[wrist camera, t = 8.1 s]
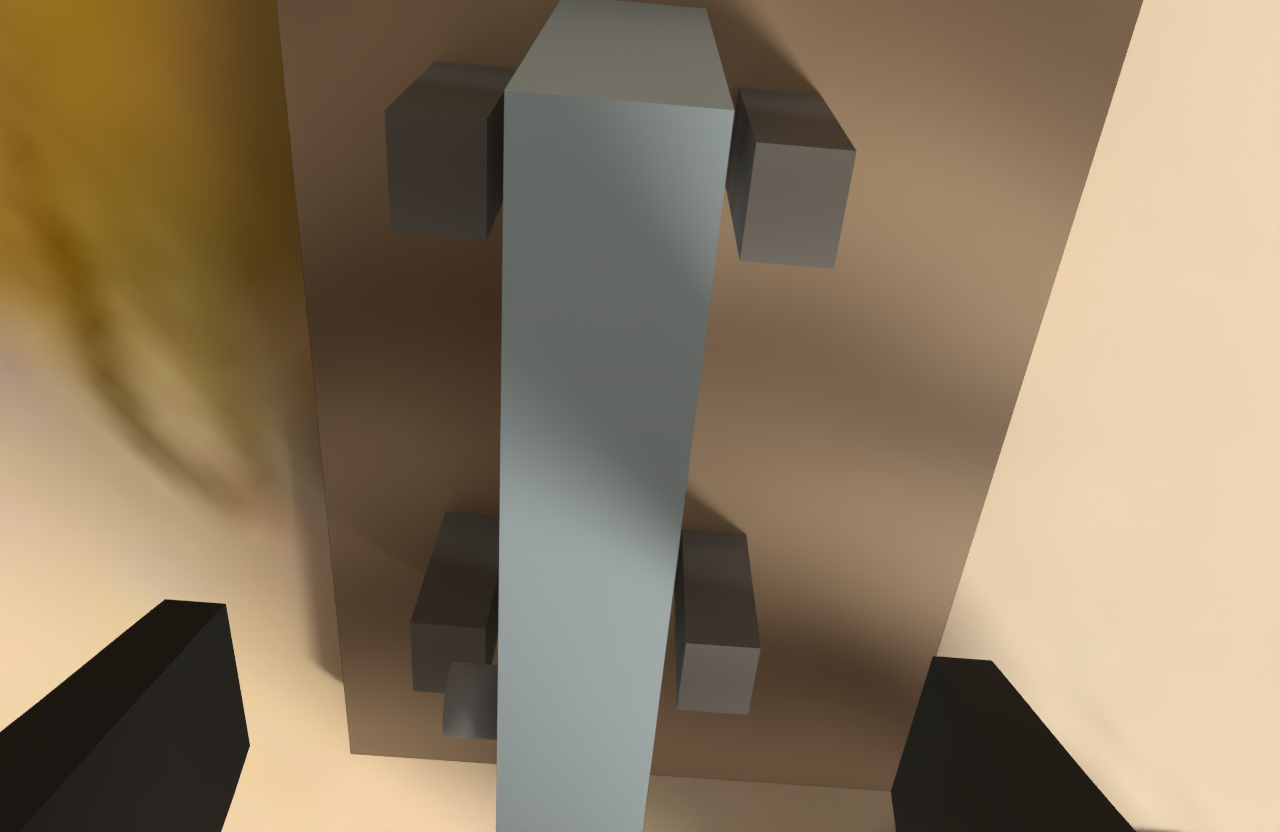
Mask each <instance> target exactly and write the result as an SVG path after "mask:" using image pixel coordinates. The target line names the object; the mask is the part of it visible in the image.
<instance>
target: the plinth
mask: <svg viewBox="0 0 1280 832" xmlns="http://www.w3.org/2000/svg"><path fill="white" fill-rule="evenodd" d="M559 1H560V0H276V3H277V13H278V23H279V33H280V43H281V53H282V63H283V74H284V84H285V94H286V104H287V114H288V124H289V134H290V145H291V155H292V165H293V175H294V185H295V195H296V205H297V216H298V226H299V236H300V246H301V256H302V266H303V276H304V286H305V297H306V307H307V317H308V327H309V337H310V347H311V357H312V368H313V378H314V388H315V398H316V408H317V418H318V428H319V438H320V449H321V459H322V469H323V479H324V489H325V499H326V509H327V520H328V530H329V540H330V550H331V560H332V570H333V580H334V590H335V601H336V611H337V621H338V631H339V641H340V651H341V661H342V672H343V682H344V692H345V702H346V712H347V722H348V732H349V742H350V753H351V754H360V755H374V756H389V757H403V758H418V759H432V760H447V761H461V762H475V763H490V764H497V740H482V739H468V738H454V737H444V735H443V706H444V697H445V690H446V684H447V679H448V674H449V670H450V667H451V665H452V663H453V662H461V663H475V664H489V665H498V616H499V527H500V437H501V347H502V257H503V168H504V90H505V88H506V87H507V85H508V84H509V82H510V80H511V79H512V77H513V75H514V74H515V72H516V71H517V69H518V67H519V66H520V64H521V63H522V61H523V59H524V58H525V56H526V55H527V53H528V51H529V50H530V48H531V47H532V45H533V43H534V42H535V40H536V38H537V37H538V35H539V34H540V32H541V30H542V29H543V27H544V26H545V24H546V22H547V21H548V19H549V18H550V16H551V14H552V13H553V11H554V9H555V8H556V6H557V5H558V3H559ZM617 1H628V2H639V3H650V4H661V5H673V6H684V7H695V8H706V10H707V13H708V17H709V21H710V24H711V28H712V31H713V35H714V38H715V42H716V46H717V49H718V53H719V56H720V60H721V64H722V67H723V71H724V74H725V78H726V82H727V85H728V89H729V92H730V96H731V100H732V103H733V107H734V118H733V126H732V134H731V142H730V149H729V157H728V165H727V173H726V181H725V189H724V197H723V204H722V212H721V220H720V228H719V236H718V244H717V251H716V259H715V267H714V275H713V283H712V291H711V298H710V306H709V314H708V322H707V330H706V338H705V346H704V353H703V361H702V369H701V377H700V385H699V393H698V400H697V408H696V416H695V424H694V432H693V440H692V448H691V455H690V463H689V471H688V479H687V487H686V495H685V502H684V510H683V518H682V526H681V534H680V542H679V549H678V557H677V565H676V573H675V581H674V589H673V597H672V604H671V612H670V620H669V628H668V636H667V644H666V651H665V659H664V667H663V675H662V683H661V691H660V698H659V706H658V714H657V722H656V730H655V738H654V746H653V753H652V761H651V769H650V775H664V776H678V777H693V778H707V779H722V780H736V781H751V782H765V783H780V784H794V785H808V786H823V787H837V788H852V789H866V790H881V791H891V788H892V785H893V782H894V779H895V776H896V772H897V769H898V766H899V763H900V760H901V756H902V753H903V750H904V747H905V744H906V740H907V737H908V734H909V731H910V728H911V724H912V721H913V718H914V715H915V712H916V708H917V705H918V702H919V699H920V696H921V692H922V689H923V686H924V683H925V680H926V676H927V673H928V670H929V667H930V664H931V660H932V657H933V656H936V654H937V651H938V648H939V645H940V641H941V638H942V635H943V632H944V629H945V626H946V622H947V619H948V616H949V613H950V610H951V607H952V603H953V600H954V597H955V594H956V591H957V588H958V584H959V581H960V578H961V575H962V572H963V569H964V565H965V562H966V559H967V556H968V553H969V550H970V546H971V543H972V540H973V537H974V534H975V531H976V527H977V524H978V521H979V518H980V515H981V512H982V509H983V505H984V502H985V499H986V496H987V493H988V490H989V486H990V483H991V480H992V477H993V474H994V471H995V467H996V464H997V461H998V458H999V455H1000V452H1001V448H1002V445H1003V442H1004V439H1005V436H1006V433H1007V429H1008V426H1009V423H1010V420H1011V417H1012V414H1013V410H1014V407H1015V404H1016V401H1017V398H1018V395H1019V391H1020V388H1021V385H1022V382H1023V379H1024V376H1025V373H1026V369H1027V366H1028V363H1029V360H1030V357H1031V354H1032V350H1033V347H1034V344H1035V341H1036V338H1037V335H1038V331H1039V328H1040V325H1041V322H1042V319H1043V316H1044V312H1045V309H1046V306H1047V303H1048V300H1049V297H1050V293H1051V290H1052V287H1053V284H1054V281H1055V278H1056V274H1057V271H1058V268H1059V265H1060V262H1061V259H1062V255H1063V252H1064V249H1065V246H1066V243H1067V240H1068V236H1069V233H1070V230H1071V227H1072V224H1073V221H1074V218H1075V214H1076V211H1077V208H1078V205H1079V202H1080V199H1081V195H1082V192H1083V189H1084V186H1085V183H1086V180H1087V176H1088V173H1089V170H1090V167H1091V164H1092V161H1093V157H1094V154H1095V151H1096V148H1097V145H1098V142H1099V138H1100V135H1101V132H1102V129H1103V126H1104V123H1105V119H1106V116H1107V113H1108V110H1109V107H1110V104H1111V100H1112V97H1113V94H1114V91H1115V88H1116V85H1117V81H1118V78H1119V75H1120V72H1121V69H1122V66H1123V63H1124V59H1125V56H1126V53H1127V50H1128V47H1129V44H1130V40H1131V37H1132V34H1133V31H1134V28H1135V25H1136V21H1137V18H1138V15H1139V12H1140V9H1141V6H1142V2H1143V0H617Z"/></svg>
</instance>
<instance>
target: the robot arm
mask: <svg viewBox="0 0 1280 832" xmlns="http://www.w3.org/2000/svg"><path fill="white" fill-rule="evenodd" d="M249 747H250V743H249V737H248V731H247V725H246V719H245V714H244V708H243V702H242V696H241V690H240V684H239V678H238V673H237V667H236V661H235V655H234V649H233V643H232V638H231V632H230V626H229V620H228V614H227V608H226V604H220V603H207V602H193V601H180V600H166V599H165V600H164V601H163V602H161V603H160V604H159V605H157V606H156V607H155V608H154V609H152V610H151V611H150V612H149V613H147V614H146V615H145V616H144V617H142V618H141V619H140V620H139V621H137V622H136V623H135V624H134V625H132V626H131V627H130V628H129V629H127V630H126V631H125V632H124V633H122V634H121V635H120V636H119V637H117V638H116V639H115V640H114V641H113V642H111V643H110V644H109V645H108V646H106V647H105V648H104V649H103V650H102V651H100V652H99V653H98V654H97V655H95V656H94V657H93V658H92V659H91V660H89V661H88V662H87V663H86V664H84V665H83V666H82V667H81V668H80V669H78V670H77V671H76V672H75V673H73V674H72V675H71V676H70V677H68V678H67V679H66V680H65V681H64V682H62V683H61V684H60V685H59V686H57V687H56V688H55V689H54V690H52V691H51V692H50V693H49V694H48V695H46V696H45V697H44V698H43V699H41V700H40V701H39V702H38V703H36V704H35V705H34V706H33V707H31V708H30V709H29V710H28V711H26V712H25V713H24V714H23V715H21V716H20V717H19V718H17V719H16V720H15V721H14V722H12V723H11V724H10V725H9V726H7V727H6V728H5V729H3V730H2V731H1V732H0V832H221V830H222V828H223V825H224V822H225V819H226V816H227V813H228V810H229V808H230V805H231V802H232V799H233V796H234V793H235V790H236V787H237V784H238V781H239V778H240V774H241V771H242V768H243V765H244V762H245V759H246V756H247V753H248V750H249ZM891 796H892V803H893V811H894V818H895V826H896V832H1136V831H1135V830H1134V829H1133V828H1132V827H1131V825H1130V824H1129V823H1128V822H1127V821H1126V820H1125V819H1124V817H1123V816H1122V815H1121V814H1120V813H1119V812H1118V811H1117V809H1116V808H1115V807H1114V806H1113V805H1112V804H1111V803H1110V801H1109V800H1108V799H1107V798H1106V797H1105V796H1104V794H1103V793H1102V792H1101V791H1100V790H1099V789H1098V787H1097V786H1096V785H1095V784H1094V783H1093V782H1092V780H1091V779H1090V778H1089V777H1088V776H1087V775H1086V773H1085V772H1084V771H1083V770H1082V769H1081V767H1080V766H1079V765H1078V764H1077V763H1076V761H1075V760H1074V759H1073V758H1072V757H1071V755H1070V754H1069V753H1068V752H1067V751H1066V750H1065V748H1064V747H1063V746H1062V745H1061V744H1060V742H1059V741H1058V740H1057V739H1056V738H1055V736H1054V735H1053V734H1052V733H1051V731H1050V730H1049V729H1048V728H1047V727H1046V725H1045V724H1044V723H1043V722H1042V721H1041V719H1040V718H1039V717H1038V716H1037V714H1036V713H1035V712H1034V711H1033V710H1032V708H1031V707H1030V706H1029V705H1028V704H1027V702H1026V701H1025V700H1024V699H1023V698H1022V696H1021V695H1020V694H1019V693H1018V691H1017V690H1016V689H1015V688H1014V687H1013V685H1012V684H1011V683H1010V682H1009V681H1008V679H1007V678H1006V677H1005V676H1004V675H1003V673H1002V672H1001V671H1000V670H999V669H998V667H997V666H996V665H995V664H994V663H993V662H992V661H990V660H976V659H963V658H949V657H936V656H933V657H932V660H931V664H930V667H929V670H928V673H927V676H926V680H925V683H924V686H923V689H922V692H921V696H920V699H919V702H918V705H917V708H916V712H915V715H914V718H913V721H912V724H911V728H910V731H909V734H908V737H907V740H906V744H905V747H904V750H903V753H902V756H901V760H900V763H899V766H898V769H897V772H896V776H895V779H894V782H893V785H892V788H891Z"/></svg>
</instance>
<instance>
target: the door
mask: <svg viewBox="0 0 1280 832" xmlns="http://www.w3.org/2000/svg"><path fill="white" fill-rule="evenodd" d="M733 118H734V107H733V103H732V100H731V96H730V92H729V89H728V85H727V82H726V78H725V74H724V71H723V67H722V64H721V60H720V56H719V53H718V49H717V46H716V42H715V38H714V35H713V31H712V28H711V24H710V21H709V17H708V13H707V10H706V8H695V7H684V6H673V5H661V4H650V3H639V2H628V1H617V0H560V1H559V3H558V5H557V6H556V8H555V9H554V11H553V13H552V14H551V16H550V18H549V19H548V21H547V22H546V24H545V26H544V27H543V29H542V30H541V32H540V34H539V35H538V37H537V38H536V40H535V42H534V43H533V45H532V47H531V48H530V50H529V51H528V53H527V55H526V56H525V58H524V59H523V61H522V63H521V64H520V66H519V67H518V69H517V71H516V72H515V74H514V75H513V77H512V79H511V80H510V82H509V84H508V85H507V87H506V88H505V90H504V168H503V257H502V347H501V437H500V527H499V616H498V665H489V664H475V663H461V662H453V663H452V665H451V667H450V670H449V674H448V679H447V684H446V690H445V697H444V706H443V735H444V737H454V738H468V739H482V740H497V796H496V832H643V824H644V816H645V808H646V800H647V793H648V785H649V777H650V769H651V761H652V753H653V746H654V738H655V730H656V722H657V714H658V706H659V698H660V691H661V683H662V675H663V667H664V659H665V651H666V644H667V636H668V628H669V620H670V612H671V604H672V597H673V589H674V581H675V573H676V565H677V557H678V549H679V542H680V534H681V526H682V518H683V510H684V502H685V495H686V487H687V479H688V471H689V463H690V455H691V448H692V440H693V432H694V424H695V416H696V408H697V400H698V393H699V385H700V377H701V369H702V361H703V353H704V346H705V338H706V330H707V322H708V314H709V306H710V298H711V291H712V283H713V275H714V267H715V259H716V251H717V244H718V236H719V228H720V220H721V212H722V204H723V197H724V189H725V181H726V173H727V165H728V157H729V149H730V142H731V134H732V126H733Z"/></svg>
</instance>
